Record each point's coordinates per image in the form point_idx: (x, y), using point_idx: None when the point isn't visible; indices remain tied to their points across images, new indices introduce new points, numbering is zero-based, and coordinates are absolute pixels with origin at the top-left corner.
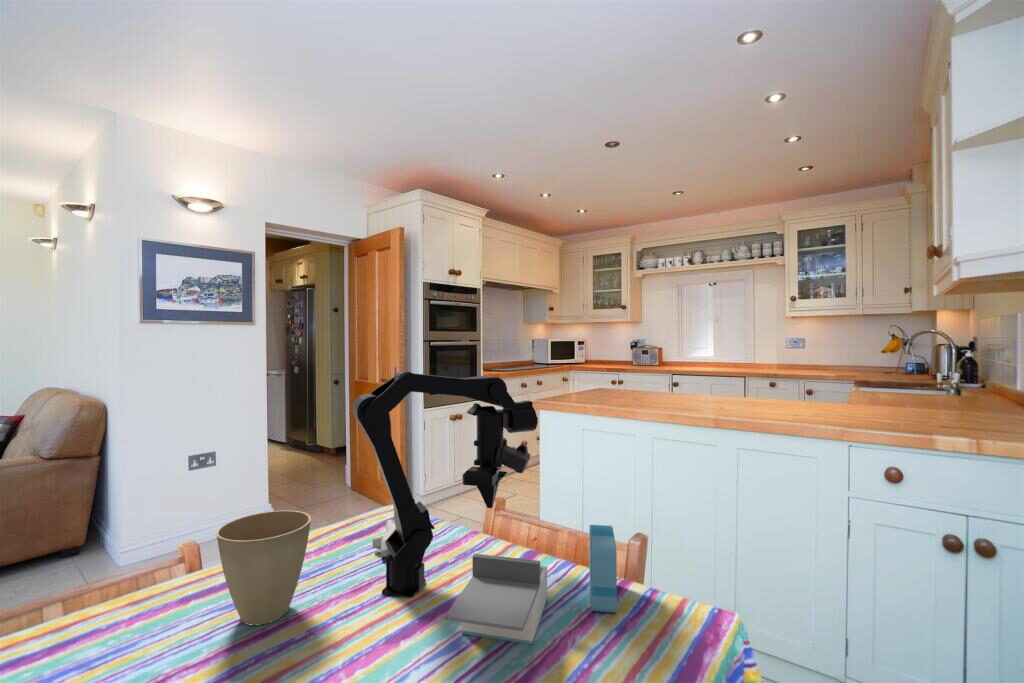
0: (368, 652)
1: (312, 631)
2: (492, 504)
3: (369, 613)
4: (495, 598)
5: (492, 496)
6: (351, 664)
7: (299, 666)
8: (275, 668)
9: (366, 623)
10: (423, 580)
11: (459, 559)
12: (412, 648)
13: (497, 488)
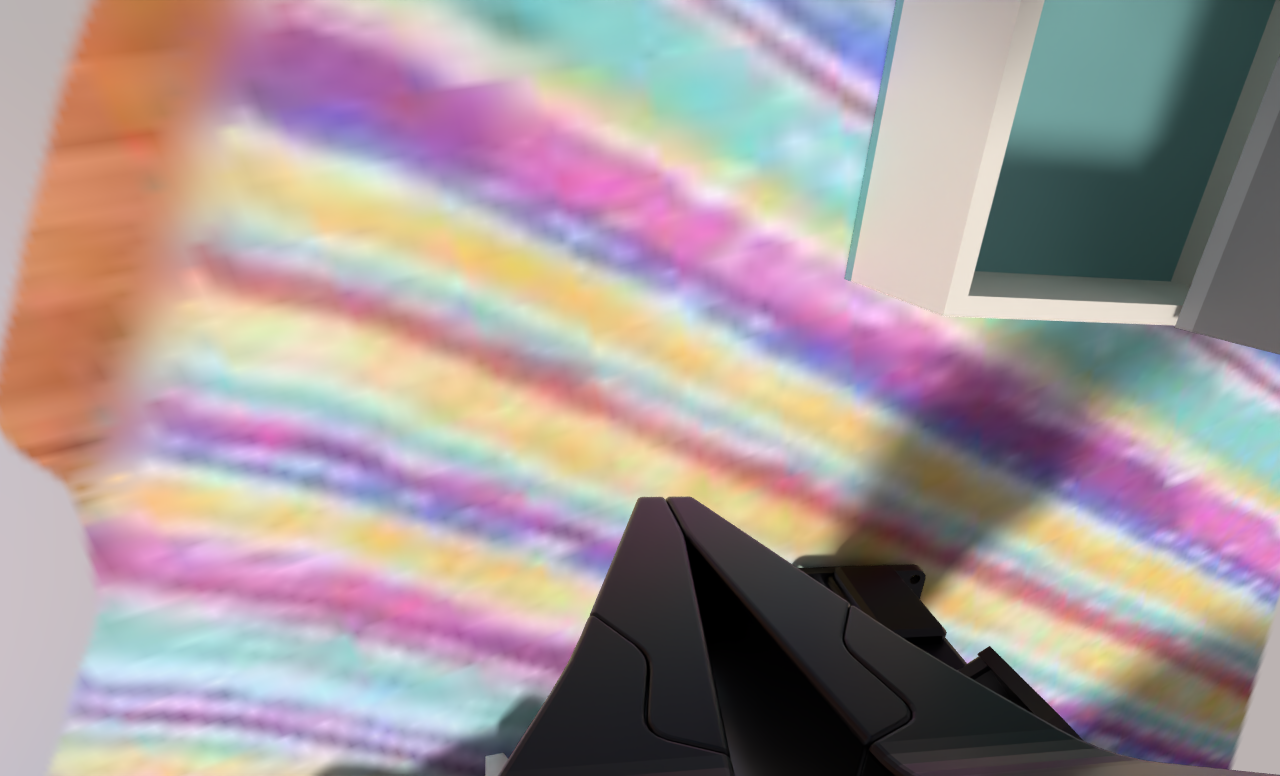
0: (1210, 547)
1: (1087, 729)
2: (716, 516)
3: (1006, 644)
4: None
5: (824, 595)
6: (1253, 562)
7: (1233, 669)
8: (1228, 710)
9: (1063, 624)
10: (857, 578)
11: (528, 512)
12: (1217, 433)
13: (586, 646)
